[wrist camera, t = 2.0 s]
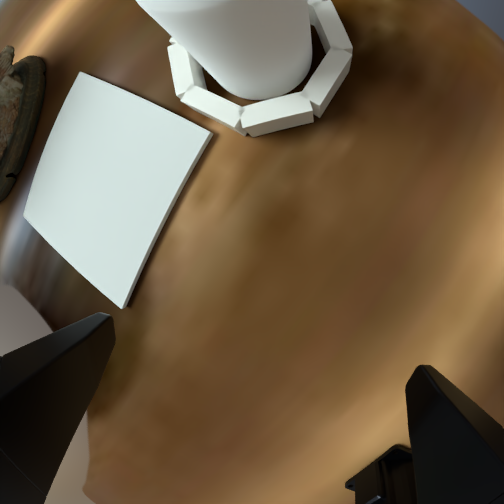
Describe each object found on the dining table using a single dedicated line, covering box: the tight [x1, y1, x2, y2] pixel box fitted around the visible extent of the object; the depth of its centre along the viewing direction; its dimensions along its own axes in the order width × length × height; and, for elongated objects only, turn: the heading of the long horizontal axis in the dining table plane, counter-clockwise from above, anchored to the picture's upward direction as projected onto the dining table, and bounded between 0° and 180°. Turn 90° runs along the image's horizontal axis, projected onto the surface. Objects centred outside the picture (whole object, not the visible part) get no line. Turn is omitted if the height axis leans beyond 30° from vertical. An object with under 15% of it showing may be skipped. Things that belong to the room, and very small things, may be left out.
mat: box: [23, 72, 213, 309], centre depth 20 cm, size 14×14×1 cm
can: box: [136, 0, 312, 100], centre depth 11 cm, size 6×6×12 cm
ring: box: [168, 0, 353, 137], centre depth 16 cm, size 10×10×2 cm
